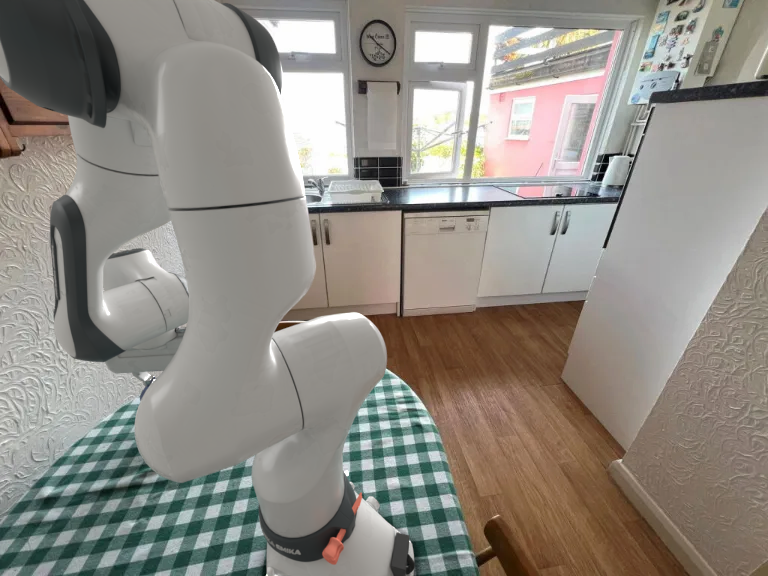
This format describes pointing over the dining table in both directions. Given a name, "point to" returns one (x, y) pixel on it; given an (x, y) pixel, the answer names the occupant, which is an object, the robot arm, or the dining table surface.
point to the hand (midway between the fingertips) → (174, 383)
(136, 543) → the dining table surface
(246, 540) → the dining table surface
